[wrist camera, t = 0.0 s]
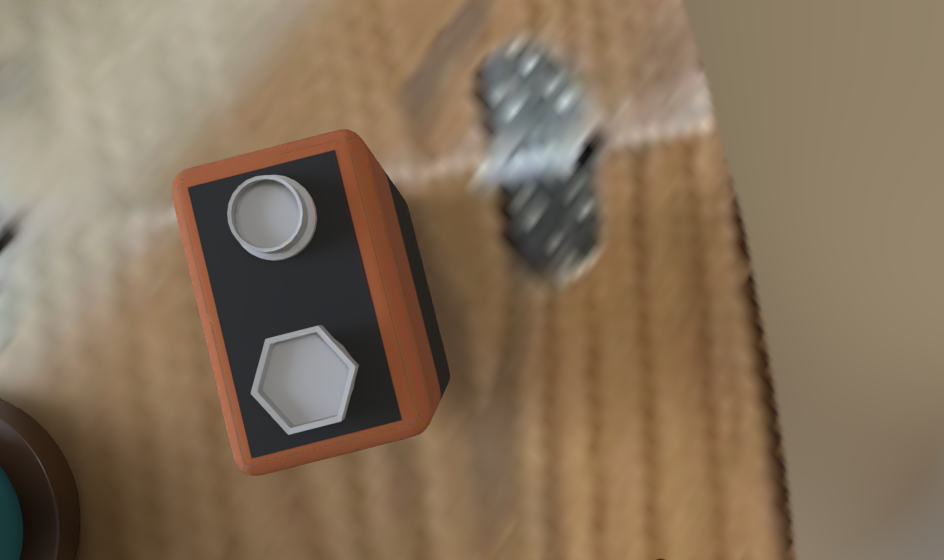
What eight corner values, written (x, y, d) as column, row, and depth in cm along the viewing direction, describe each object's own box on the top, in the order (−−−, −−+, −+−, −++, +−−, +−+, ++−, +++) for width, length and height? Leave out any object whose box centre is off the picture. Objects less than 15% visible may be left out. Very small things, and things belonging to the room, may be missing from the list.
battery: (329, 417, 23) (215, 498, 13) (282, 224, 24) (136, 160, 14) (454, 385, 23) (434, 442, 13) (405, 192, 24) (350, 106, 14)
